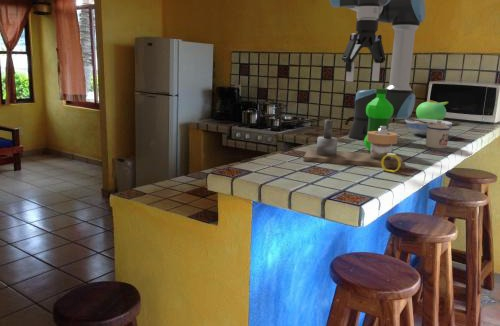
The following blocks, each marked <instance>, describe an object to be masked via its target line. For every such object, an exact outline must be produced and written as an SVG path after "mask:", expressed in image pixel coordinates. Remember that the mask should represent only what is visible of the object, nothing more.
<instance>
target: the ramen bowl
mask: <svg viewBox="0 0 500 326" xmlns="http://www.w3.org/2000/svg"><path fill="white" fill-rule="evenodd" d="M404 121H405V123H406V125H407V127H408V128H409V130H410V131H412V132H414V134H415V133H416V134H418V136H422V137H427V130H428V128H427V127H428V125H431V124H433V123H437V120H432V119H419V118H412V117H409V118H407V119H404ZM440 121H442V123H443V124H445V125H446V126H449V127H450V128H451V127H452V125H453V122H452V121H451V122H450V121H447V120H446V121H445V120H440Z"/></svg>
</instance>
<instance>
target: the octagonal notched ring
mask: <svg viewBox="0 0 500 326" xmlns="http://www.w3.org/2000/svg"><path fill="white" fill-rule="evenodd" d="M398 137H399V135H398V133H397V132H391V131H388V132H387V134H378V131H368V134H367V142H372V143H376V144H392V145H395V144H397V145H398Z"/></svg>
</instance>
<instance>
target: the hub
mask: <svg viewBox="0 0 500 326" xmlns="http://www.w3.org/2000/svg"><path fill="white" fill-rule="evenodd" d="M387 131H388V132H389V128H388V129H386V126H380V128H379V129H378V134H387ZM392 146H393V144H376V143H372V142H371V149H370V151H369V153H370V158H371V159H376V160H382V159H383V157H384V156H386V155H387V154H388V153H392V148H393V147H392ZM390 159H391V157H390V156H387V157H386V158H385V159H384V160H390Z"/></svg>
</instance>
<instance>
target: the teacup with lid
mask: <svg viewBox="0 0 500 326" xmlns="http://www.w3.org/2000/svg"><path fill="white" fill-rule="evenodd" d="M442 121H443V120H442ZM442 121H440V120H437V123H433V124H431V125H428V127H427V128H428V130H427V136H426V140H425V146H426V147H427V148H429V149H430V148H432V149H439V150H440V149H442V150H443V149H447V147H448V141H449V134H450V128H451V127H449V126H446V125H445V124H443V123H442Z"/></svg>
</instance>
